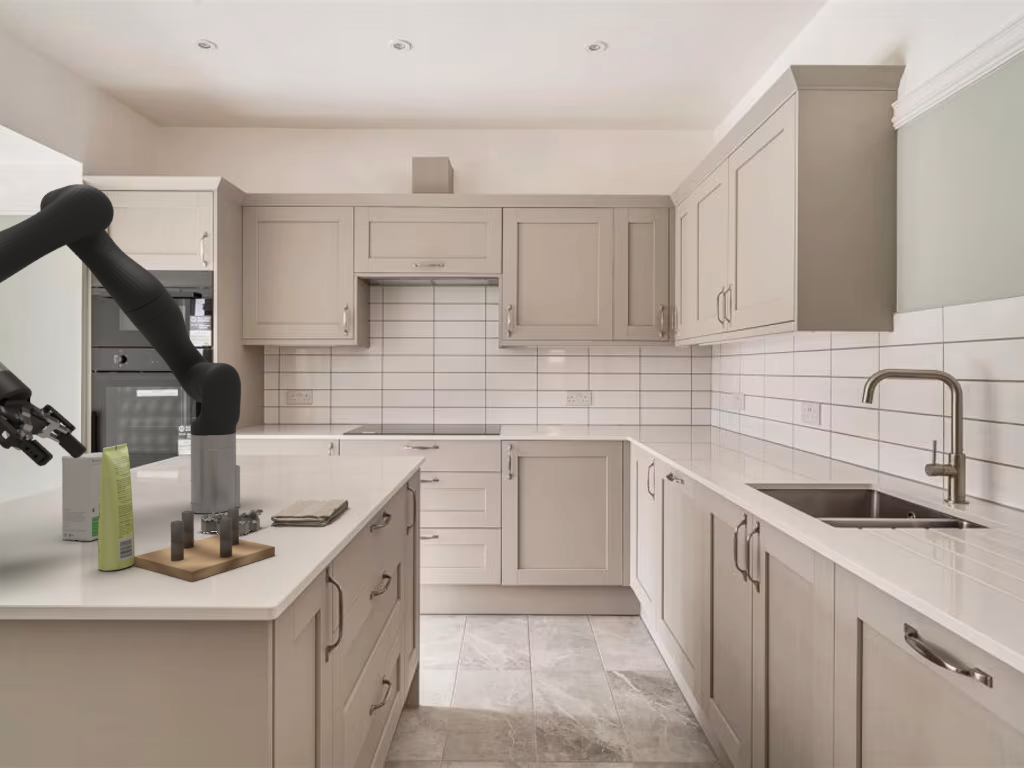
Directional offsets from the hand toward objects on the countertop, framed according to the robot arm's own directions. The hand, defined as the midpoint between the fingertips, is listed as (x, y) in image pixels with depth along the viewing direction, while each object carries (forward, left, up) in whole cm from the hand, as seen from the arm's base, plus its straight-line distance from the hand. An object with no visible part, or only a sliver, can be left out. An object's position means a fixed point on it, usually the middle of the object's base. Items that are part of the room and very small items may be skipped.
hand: (65, 458), depth 96 cm
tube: (-4, +6, -18) cm, 19 cm away
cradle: (-13, +16, -17) cm, 27 cm away
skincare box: (-12, -17, -18) cm, 27 cm away
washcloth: (-44, +7, -18) cm, 48 cm away
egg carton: (-28, +2, -18) cm, 33 cm away
